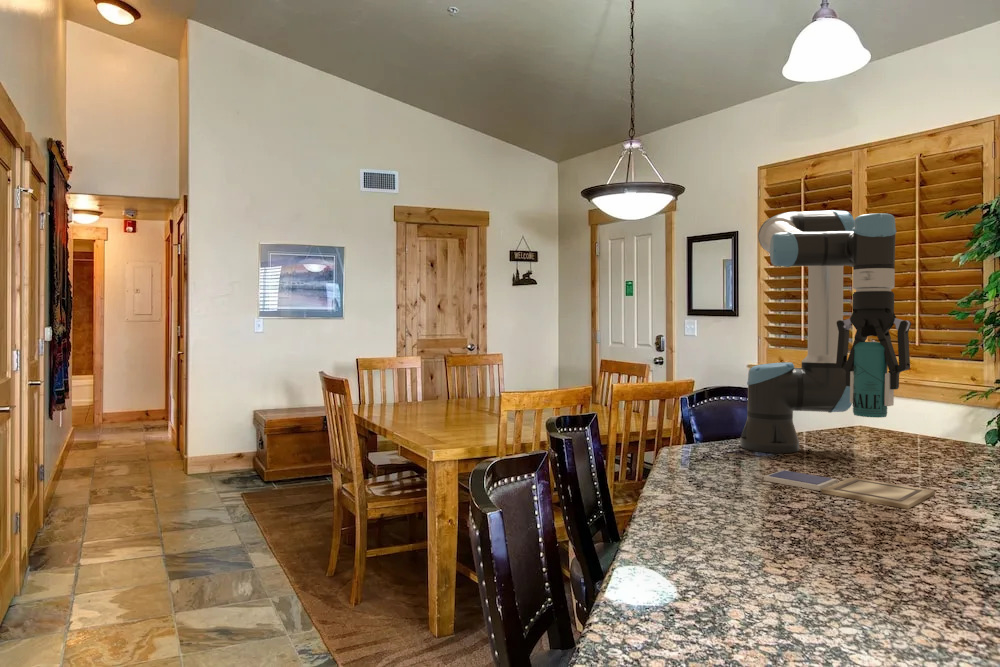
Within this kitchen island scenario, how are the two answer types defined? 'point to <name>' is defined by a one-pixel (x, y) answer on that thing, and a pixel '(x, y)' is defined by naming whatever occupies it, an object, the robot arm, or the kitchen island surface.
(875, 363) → the beverage bottle
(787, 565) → the kitchen island surface
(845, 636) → the kitchen island surface
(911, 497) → the mark board
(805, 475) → the ink pad
